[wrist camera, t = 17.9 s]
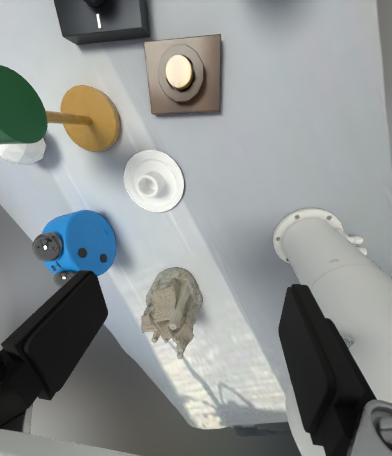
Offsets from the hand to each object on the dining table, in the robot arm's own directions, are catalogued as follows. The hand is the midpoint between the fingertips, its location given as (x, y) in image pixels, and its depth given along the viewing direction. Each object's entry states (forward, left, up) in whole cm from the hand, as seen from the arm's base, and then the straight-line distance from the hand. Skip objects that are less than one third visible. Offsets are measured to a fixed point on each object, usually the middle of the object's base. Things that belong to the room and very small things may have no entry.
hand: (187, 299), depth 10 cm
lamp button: (+5, -15, -27) cm, 31 cm away
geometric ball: (+35, -7, -31) cm, 47 cm away
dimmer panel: (+16, -25, -30) cm, 42 cm away
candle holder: (+12, +1, -31) cm, 33 cm away
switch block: (+5, -15, -30) cm, 34 cm away
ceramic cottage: (+11, +30, -31) cm, 44 cm away
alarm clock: (+26, +12, -31) cm, 42 cm away
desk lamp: (+22, -10, -30) cm, 39 cm away
